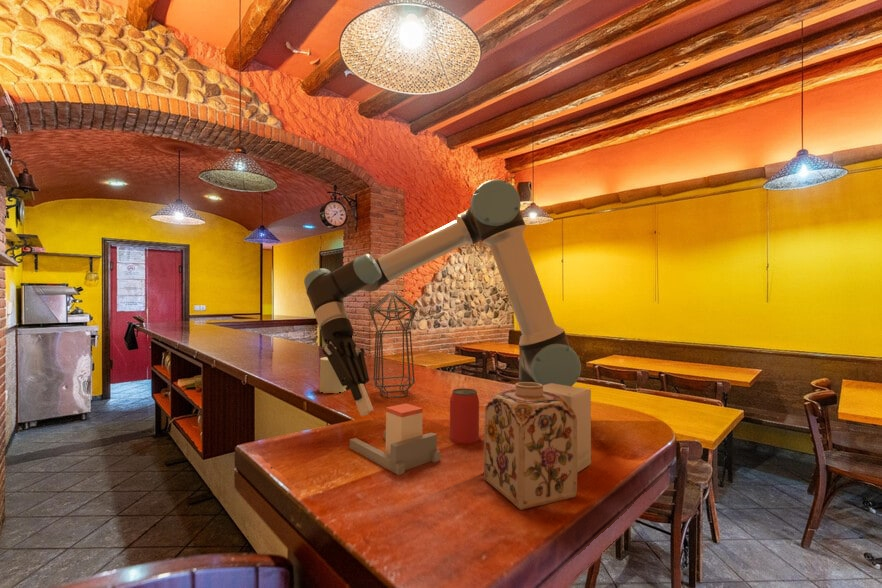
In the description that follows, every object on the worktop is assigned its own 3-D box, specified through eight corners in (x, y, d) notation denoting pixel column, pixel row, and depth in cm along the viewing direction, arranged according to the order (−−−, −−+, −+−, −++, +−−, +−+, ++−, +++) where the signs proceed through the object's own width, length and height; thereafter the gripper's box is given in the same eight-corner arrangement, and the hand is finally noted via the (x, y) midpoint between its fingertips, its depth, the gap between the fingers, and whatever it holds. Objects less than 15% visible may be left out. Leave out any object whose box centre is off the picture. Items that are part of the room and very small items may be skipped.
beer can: (477, 451, 84) (477, 395, 84) (446, 448, 85) (447, 393, 86) (480, 441, 91) (480, 388, 91) (452, 438, 92) (452, 387, 92)
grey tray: (343, 455, 81) (343, 425, 81) (391, 442, 89) (391, 414, 89) (401, 490, 66) (402, 453, 66) (453, 470, 74) (453, 437, 74)
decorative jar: (519, 512, 60) (520, 393, 60) (481, 480, 71) (482, 379, 71) (580, 497, 65) (580, 387, 65) (536, 469, 75) (536, 375, 76)
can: (314, 393, 136) (315, 358, 136) (326, 387, 145) (327, 354, 145) (339, 394, 134) (340, 359, 135) (350, 388, 143) (350, 355, 144)
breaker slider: (385, 458, 76) (386, 407, 76) (406, 452, 79) (406, 403, 80) (401, 466, 72) (401, 413, 72) (421, 459, 76) (422, 408, 76)
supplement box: (592, 464, 78) (593, 388, 78) (571, 478, 72) (572, 396, 72) (551, 451, 84) (551, 381, 85) (528, 463, 78) (529, 387, 78)
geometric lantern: (420, 399, 129) (419, 292, 129) (372, 403, 125) (371, 293, 125) (411, 388, 144) (410, 292, 144) (368, 391, 140) (367, 293, 140)
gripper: (341, 335, 105) (372, 418, 95) (304, 329, 93) (335, 422, 84) (362, 320, 102) (395, 403, 93) (326, 312, 91) (360, 406, 81)
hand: (367, 412), depth 88 cm, fingers closed
